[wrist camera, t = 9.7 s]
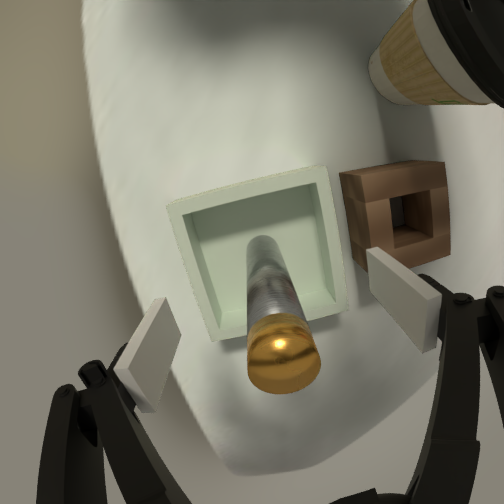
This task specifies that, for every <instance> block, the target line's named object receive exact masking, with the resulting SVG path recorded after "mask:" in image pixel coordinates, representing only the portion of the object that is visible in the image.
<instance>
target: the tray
mask: <svg viewBox="0 0 504 504" xmlns="http://www.w3.org/2000/svg"><path fill="white" fill-rule="evenodd" d="M166 209H167V212H168V215H169V219H170V222H171V225H172V229H173V232H174V235H175V238H176V241H177V245H178V248H179V251H180V254H181V257H182V260H183V263H184V266H185V269H186V272H187V275H188V278H189V281H190V284H191V287H192V289H193V292H194V295H195V298H196V301H197V303H198V306H199V309H200V312H201V314H202V317H203V320H204V322H205V325H206V328H207V330H208V333H209V336H210V338H211V341H212V342H214V341H219V340H225V339H230V338H235V337H240V336H245V335H247V281H246V248H247V245H248V243H249V242H250V240H251V239H253V238H254V237H256V236H259V235H267V236H270V237H272V238H273V239H274V240H275V241H276V242H277V244H278V246H279V249H280V251H281V254H282V256H283V259H284V262H285V264H286V267H287V269H288V272H289V275H290V277H291V280H292V283H293V285H294V288H295V291H296V293H297V296H298V299H299V301H300V304H301V307H302V309H303V312H304V315H305V318H306V320H307V321H310V320H314V319H318V318H322V317H325V316H329V315H333V314H336V313H340V312H344V311H347V310H348V300H347V290H346V282H345V273H344V266H343V258H342V251H341V244H340V238H339V231H338V225H337V219H336V214H335V208H334V202H333V197H332V192H331V187H330V182H329V177H328V172H327V167H326V166H311V167H306V168H301V169H297V170H292V171H287V172H283V173H278V174H274V175H269V176H265V177H261V178H257V179H252V180H248V181H244V182H240V183H236V184H232V185H228V186H225V187H221V188H217V189H213V190H210V191H206V192H202V193H199V194H195V195H192V196H188V197H185V198H181V199H178V200H176V201H174V202H172V203H170V204H168V205H166Z"/></svg>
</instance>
